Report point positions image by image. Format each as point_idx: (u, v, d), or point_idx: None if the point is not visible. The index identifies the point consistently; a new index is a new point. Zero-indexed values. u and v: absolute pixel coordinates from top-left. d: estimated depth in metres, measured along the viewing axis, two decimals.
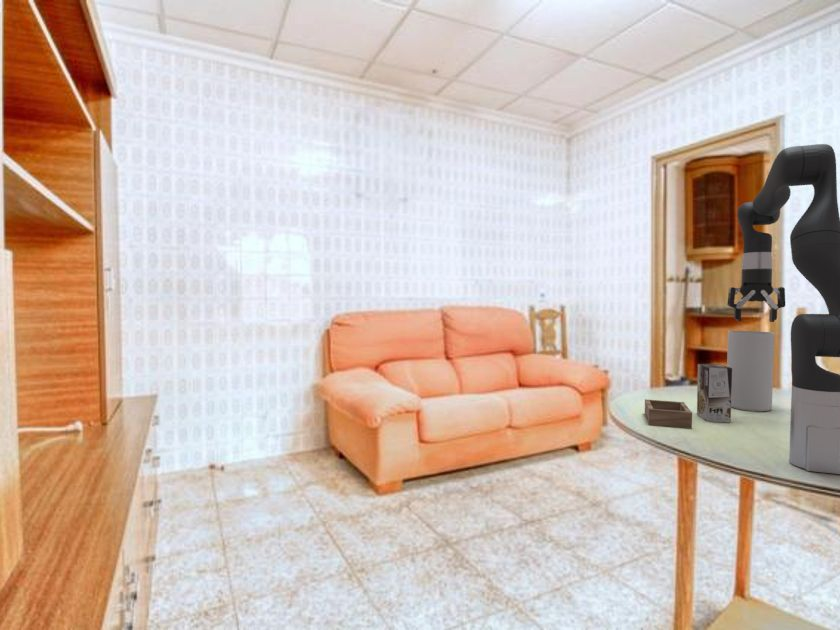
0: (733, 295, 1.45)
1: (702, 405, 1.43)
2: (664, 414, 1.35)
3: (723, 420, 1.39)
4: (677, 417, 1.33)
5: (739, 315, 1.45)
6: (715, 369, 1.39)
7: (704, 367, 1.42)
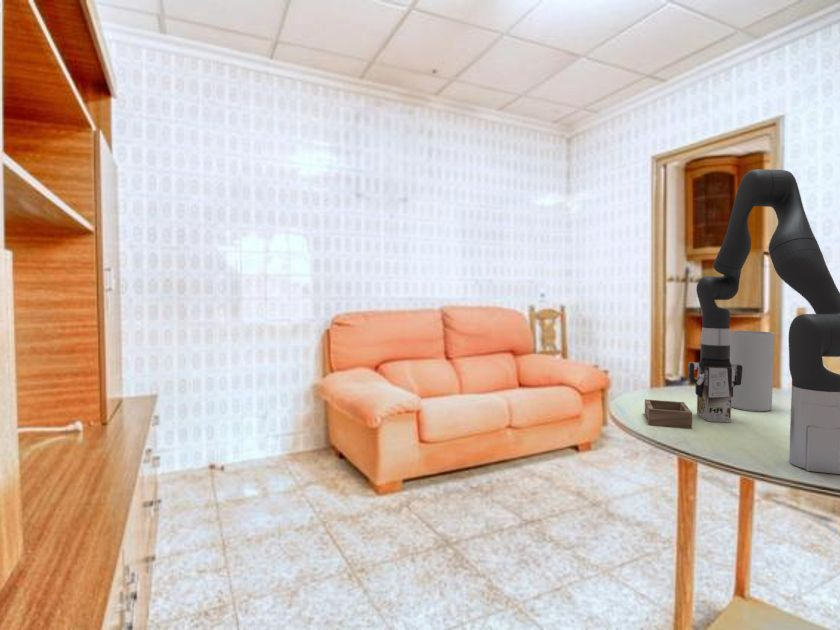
0: (693, 371, 1.44)
1: (702, 405, 1.43)
2: (664, 414, 1.35)
3: (723, 420, 1.39)
4: (677, 417, 1.33)
5: (700, 391, 1.43)
6: (715, 369, 1.39)
7: (704, 367, 1.42)
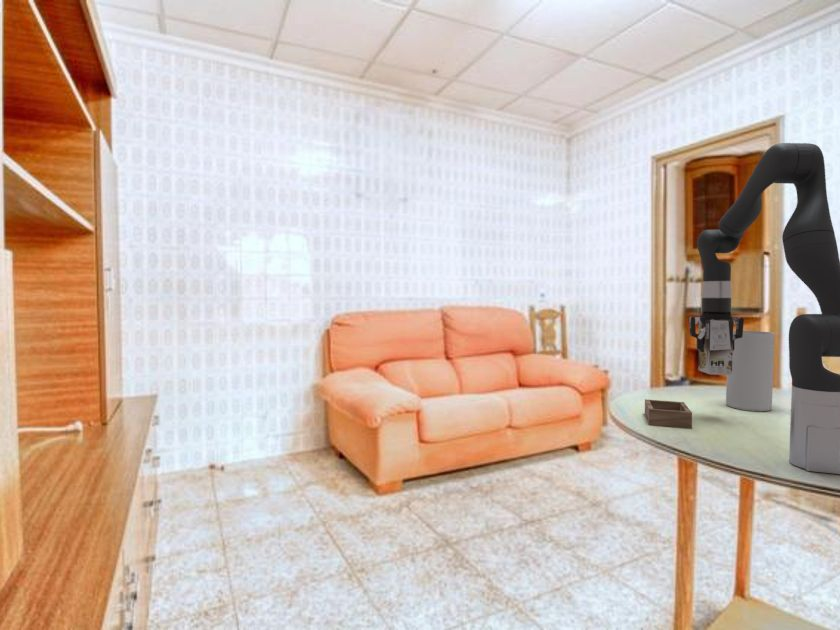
0: (694, 325, 1.43)
1: (704, 359, 1.42)
2: (664, 414, 1.35)
3: (724, 373, 1.38)
4: (677, 417, 1.33)
5: (701, 345, 1.43)
6: (716, 321, 1.38)
7: (705, 321, 1.42)
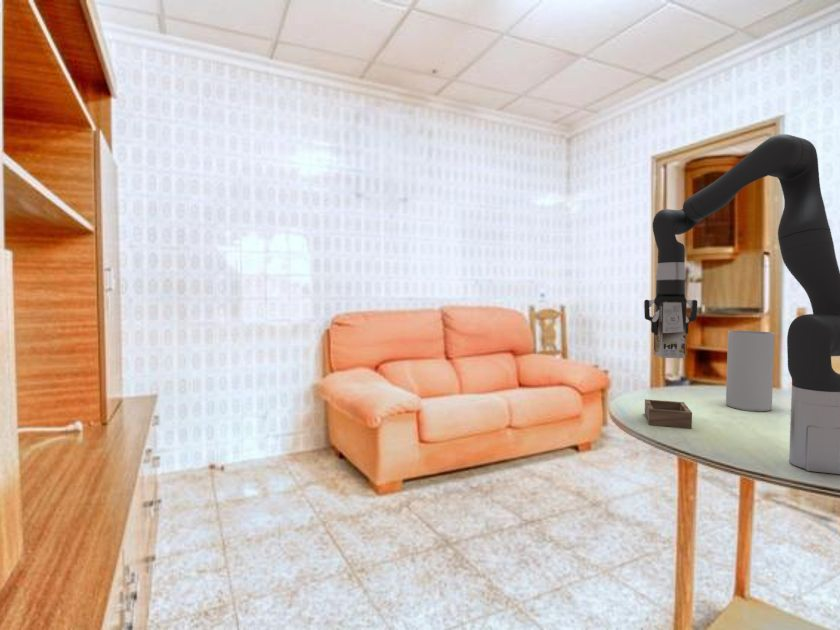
0: (648, 308, 1.40)
1: (658, 343, 1.40)
2: (664, 414, 1.35)
3: (677, 356, 1.35)
4: (677, 417, 1.33)
5: (655, 328, 1.40)
6: (669, 304, 1.35)
7: (659, 303, 1.39)
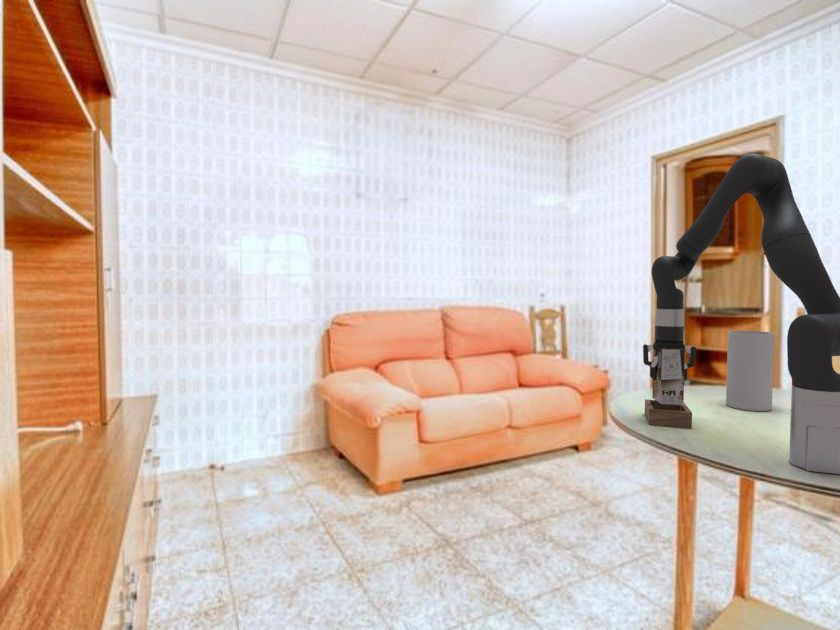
0: (646, 353, 1.41)
1: (656, 388, 1.40)
2: (664, 414, 1.35)
3: (676, 403, 1.36)
4: (677, 417, 1.33)
5: (654, 374, 1.40)
6: (668, 350, 1.36)
7: (658, 349, 1.39)
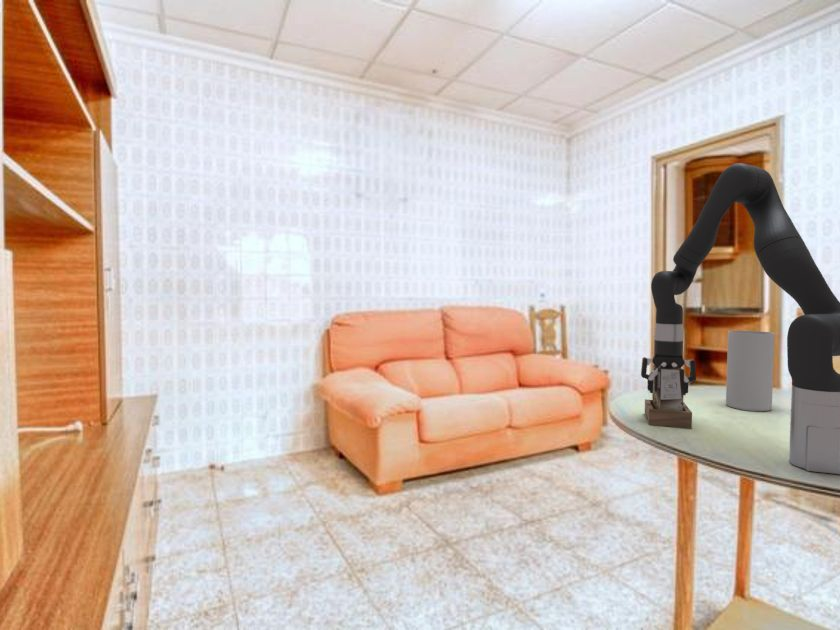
0: (645, 366, 1.41)
1: (656, 407, 1.40)
2: (664, 414, 1.35)
3: None
4: (677, 417, 1.33)
5: (651, 387, 1.41)
6: (667, 370, 1.36)
7: None
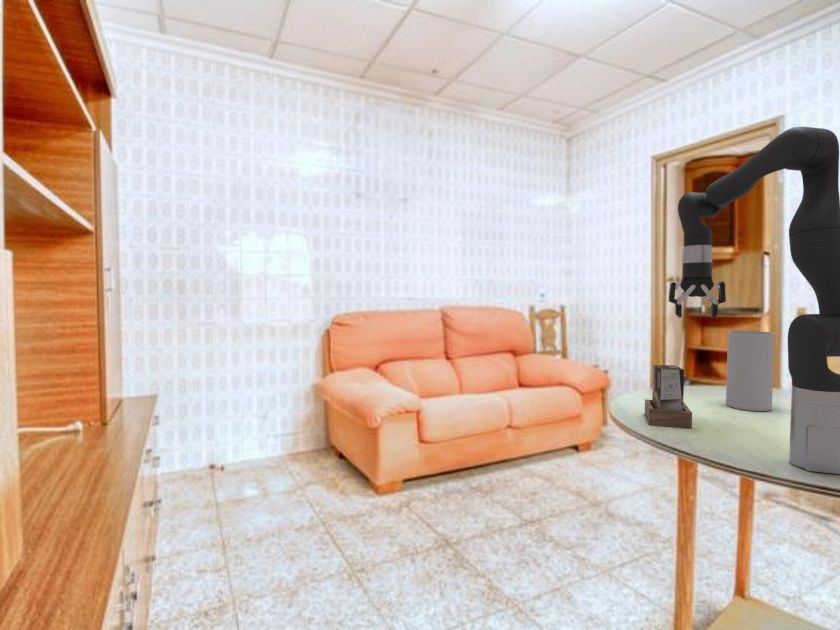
0: (673, 290, 1.39)
1: (656, 407, 1.40)
2: (664, 414, 1.35)
3: None
4: (677, 417, 1.33)
5: (680, 311, 1.39)
6: (667, 371, 1.36)
7: (657, 368, 1.40)
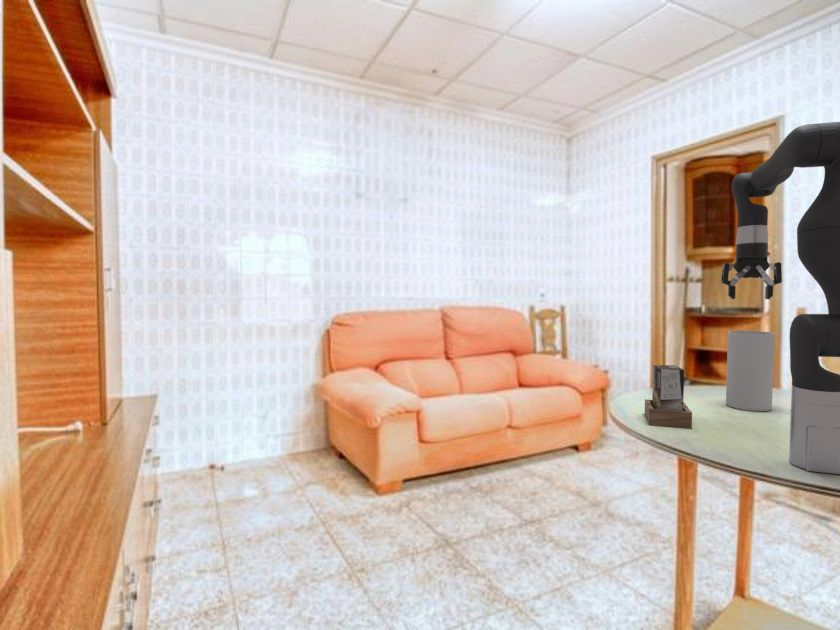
0: (727, 271, 1.38)
1: (656, 407, 1.40)
2: (664, 414, 1.35)
3: None
4: (677, 417, 1.33)
5: (733, 292, 1.37)
6: (667, 371, 1.36)
7: (657, 368, 1.40)
